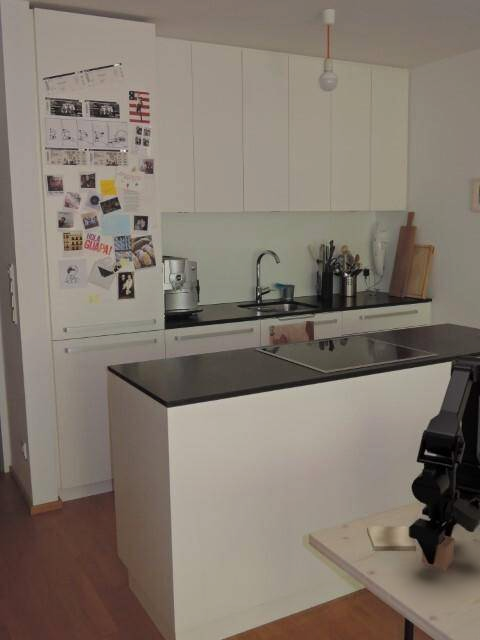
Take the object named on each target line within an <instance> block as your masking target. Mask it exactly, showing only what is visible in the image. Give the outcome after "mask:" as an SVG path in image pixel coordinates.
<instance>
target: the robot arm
mask: <svg viewBox="0 0 480 640" xmlns="http://www.w3.org/2000/svg"><path fill="white" fill-rule="evenodd" d="M450 362H451V363H450V365H451V366H450V379H449V381H448V385H447V388H446V391H445V394H444V397H443V399H442V403H441V405H440V406H441V407H440V409H439V412H438V414H437V415H435V416H433V417H432V418H431V419H430V420H429V423H428V425H427V426H426V429H425V430H423V432H422V436H421V441H420V445H419V448H418V453H417V457H416V462H417V463H419V464H423V469H422V470H421V472H420V473H419V474H418V476H417V477H415V478H414V480H413V481H412V484H411V492H412V495H413V497H414V498H415V499H416V500H417V501H418V502H420V504H421V503H423V504H426V507H425V508H424V509H422V514H423V515H427V516H428V518H429V519H431V520H430V521H429V520H425V519H421V518H420V517H419V518H418V519H415V521H414V522H412V523H411V524H410V525H409V526H408V531H409V537H410V538H412V539H413V540H416V542H417V543H418V545H419V547H420V548H421V551H423V553H424V555H425V557H426V560H427V562H428V563H429V564H432V565H433V564H434V561H435V557H436V552H437V547H438V545H439V544H441V543H442V542H443V541H444V540H445V537H444V535H445V536H448V537H452V535H453V531H454V528H455V526H456V525H459V526H461V527H462V528H463V529H464V530H465V531H467V532H470V533H474V532H475V530H476V529H477V528H478V527H479V525H480V357H479V356H470V355H464V354H463V355H462V354H461V355H459V358H458V359H454V360H453V359H452V360H451V361H450ZM426 453H428V454H426ZM431 454H432V455H431Z"/></svg>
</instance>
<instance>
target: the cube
mask: <svg viewBox="0 0 480 640" xmlns="http://www.w3.org/2000/svg"><path fill="white" fill-rule="evenodd" d="M444 537H445V540H444V541H443V542H442V543H441V544H439V545H438V547H437V552H436V557H435V561H434V564H433V565H432V564H429V563H428V562H427V560H426V557H425V555H424V553H423V551H422V550H421V551H422V552H421V564H424V565H429V567H430V566H431V567H434V568H437V569H440V570H443V571H446V570H447V569H448V568H449V566H450V565H451V563H453V562H454V555H455V552H454V551H455V538H454V537H452V536H451V537H448V536H445V535H444Z"/></svg>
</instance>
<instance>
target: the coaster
mask: <svg viewBox="0 0 480 640" xmlns="http://www.w3.org/2000/svg"><path fill="white" fill-rule="evenodd" d="M366 531H367V533H368V536H369V539H370V542H371V545H372V548H373V550H374V551H416V549H417V546H416V544H415V542H414V539H413V538H410V537H409V528H407V526H405V525H403V526H400V525H398V526H392V525H391V526H389V525H388V526H387V525H386V526H384V525H383V526H382V525H381V526H375V525H374V526H371V525H370V526H366Z"/></svg>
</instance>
